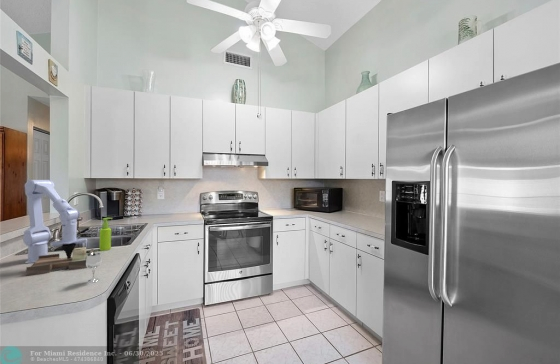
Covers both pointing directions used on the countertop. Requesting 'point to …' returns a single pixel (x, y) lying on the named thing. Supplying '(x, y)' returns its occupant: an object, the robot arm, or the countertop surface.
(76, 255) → the maple block
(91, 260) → the wineglass
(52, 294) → the countertop surface
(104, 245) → the soap dispenser
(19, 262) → the countertop surface
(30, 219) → the robot arm
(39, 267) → the track
